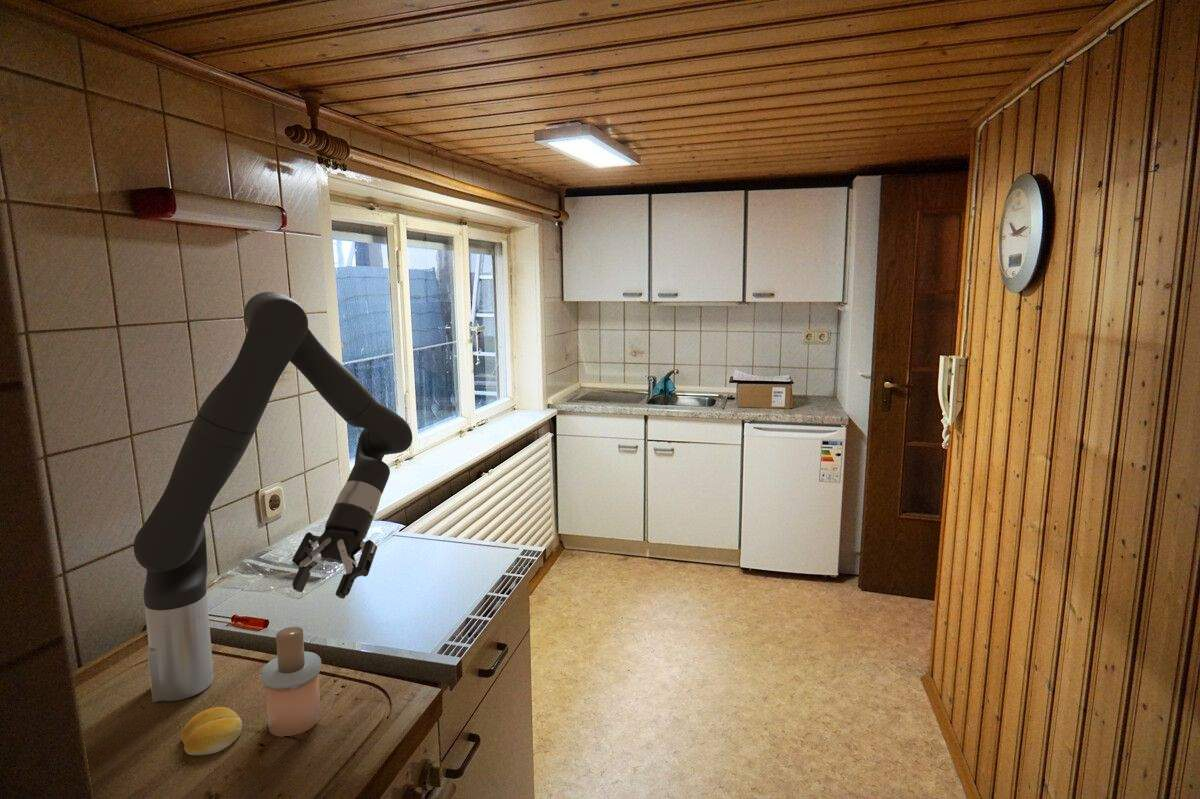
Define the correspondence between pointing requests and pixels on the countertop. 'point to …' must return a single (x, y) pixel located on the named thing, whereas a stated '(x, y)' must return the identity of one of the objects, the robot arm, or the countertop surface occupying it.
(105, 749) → the countertop surface
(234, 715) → the bread roll
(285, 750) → the countertop surface
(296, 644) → the lid
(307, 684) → the canister
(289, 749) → the countertop surface
